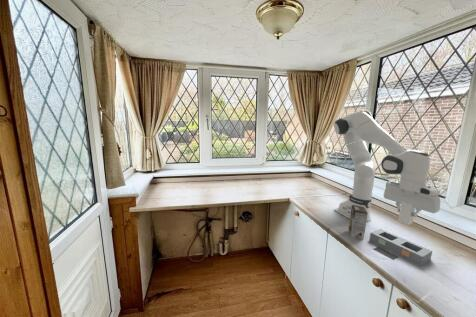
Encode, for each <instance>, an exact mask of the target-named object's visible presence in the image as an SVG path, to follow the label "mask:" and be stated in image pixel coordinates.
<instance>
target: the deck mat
mask: <svg viewBox="0 0 476 317" xmlns="http://www.w3.org/2000/svg"><path fill="white" fill-rule="evenodd" d="M372 250H374V251H375V252H378V253H379V254H381V255H383V256H385V257H387V258H389V259H391V260H392V261H394V260H396V259H398V258H399V255H398V256H397V254H395V253H393V252H391V251H390V252H389V250H387V249H385V248H383V247H381V246H377V247H374V248H372Z"/></svg>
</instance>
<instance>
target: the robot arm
mask: <svg viewBox="0 0 476 317" xmlns="http://www.w3.org/2000/svg"><path fill="white" fill-rule="evenodd" d="M333 126H334V131H335V132H336V134H338V135H341V136H342V135H343V140H344V144H345V146H346V149H347V152H348V155H349V156H350V158H351V160H352V162H353V164H354V167H355V168H354V174H353V175H354V177H353V186H352V194H349V195H348V199H346V200H343V201H342V202H340V203H339V204H338V206H336V207H335V208H334V211H335V212H337V213H338V214H340V215H342V216H344V217H346V218H347V219H349V220H350V215H351V208H352V205H356V206H361V207H364V208H365V210H366V211H367V213H368V214H367V221H366V222H369V221H371V220H372V218H371V207H372V200H373V199H372V196H373V189H374V181H375V176H376V175H375V174H376V170H377V168H376V165H375V162H374V160H373V158H372V155H371V153H370V152H369V149H368V147H367V146H368V145H367V144H366V143H368V144H372V145H376V146H379V147H382V148H383V149H385V150H386V151H388V152H389V154H390V155H386V156H384V157H383V158H382V160H381V163H380V164H381V165H380V167H381V169H382V171H383V172H384V173H386V174H389V175H400V180H399V182H397V181H394V180H393V181H392V180H389V181H387V182H386V183H385V189H384V192H383V198H384V199H385V200H387V201H393V202H395V205H396V208H397V209H396V210H397V212H398V213H400V207H401V201H402V202H406V203H409V204H412V207H414V208H415V212H412V213H411V214H412V215H411V216H412V217H414V218H417V217H418V214H419V213H420V212H422V211H424V212H428V213H431V214H435V213H439V212H440V210H441V198H440V196H439V194H440V190H439V189H438V188H436V187H434V186H432V185H429V184H428V183H427V175H428V174H429V172H430V162H431V161H430V160H431V158H430V155H429V153H427V152H425V151H422V150H417V149H406V148H405V147H404V146H403V145H402V144H401V143H400V142H399V141H398V140H396V138H394V137H393V136H392V135H391V134H390V133H388V132H387V131H386V130H384V128H383V127H381V126H380V125H379V124H378V122H377V121H376V120H375V119H374V118H373V115H372V113H371V112H370V111H369V110H367V109H365V110H360V111H356V112H353V113H350V114H348V115H345V116H343V117H342V118H341V117H340V118H338V119H337V120H335V121H334V123H333Z"/></svg>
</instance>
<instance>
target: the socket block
mask: <svg viewBox="0 0 476 317" xmlns="http://www.w3.org/2000/svg"><path fill="white" fill-rule="evenodd" d="M369 234H370V235H369V241H371V242H372V243H374V244H376V245H378V246H379V247H381V248H383V249H385V250H387V251H390V252H391V253H393V254H395V255H398V256H400V257H402V258H404V259H405V260H408V261H410V262H412V263H414V264H417V265H418V266H421V267H422V266H423V265H424V264H426V263H428V262H429V261H431V259H432V255H433V250H432V249H429V248H426V247H425V246H421V245H419V244H417V243H415V242H412V241H410V240H408V239H406V238H403V237H401V236H398V235H396V234H394V233H391V232H389V231H387V230H385V229H383V228H379V229H377V230H374V231H371V232H370V233H369Z"/></svg>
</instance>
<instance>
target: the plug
mask: <svg viewBox="0 0 476 317" xmlns="http://www.w3.org/2000/svg"><path fill="white" fill-rule="evenodd" d="M400 206H401V207H400V212H398V213H399V214H398V220H397V221H398V222H399V223H401V224H404V225H407V226H409V225H412V224H413V222H414V218H415V217H412V216H411V215H412V214H411V213H412V212H416V210H415V209H416V208H414V207H412V204H409V203H406V202H402V201H401V204H400Z"/></svg>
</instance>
